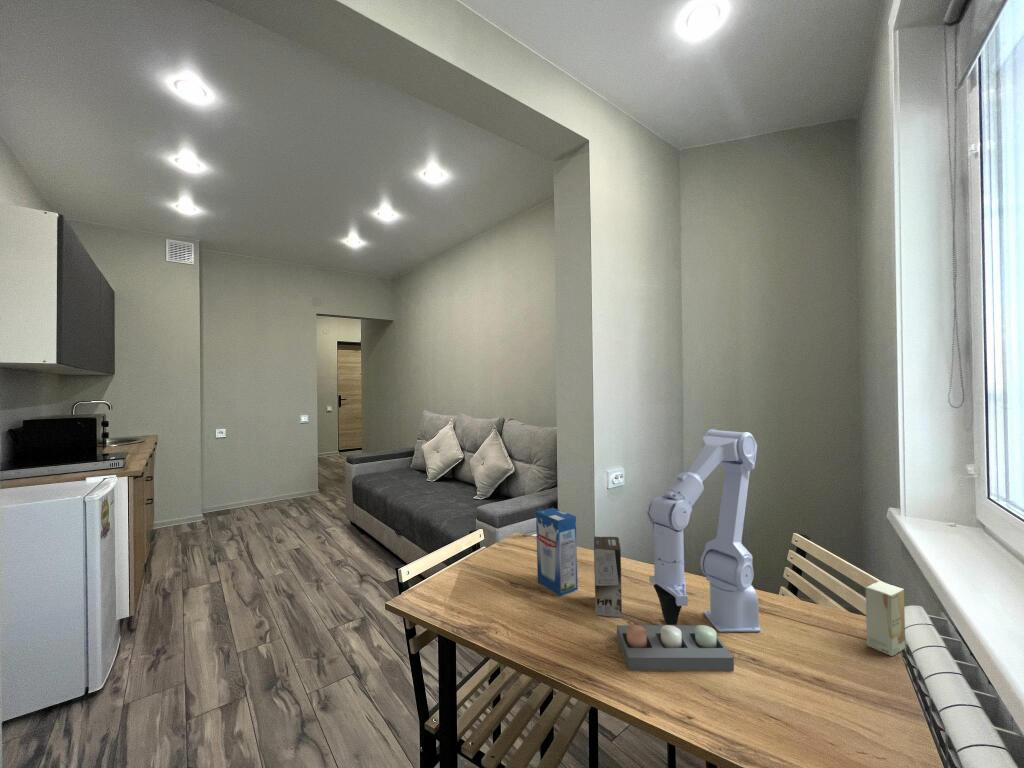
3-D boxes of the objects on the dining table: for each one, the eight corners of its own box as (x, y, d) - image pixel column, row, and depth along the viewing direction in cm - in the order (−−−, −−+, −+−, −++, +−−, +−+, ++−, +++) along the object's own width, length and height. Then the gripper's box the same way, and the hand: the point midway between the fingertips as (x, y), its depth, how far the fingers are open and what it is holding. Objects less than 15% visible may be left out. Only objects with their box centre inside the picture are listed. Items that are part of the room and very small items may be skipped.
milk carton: (577, 590, 114) (576, 516, 114) (560, 596, 110) (558, 520, 110) (554, 576, 122) (553, 507, 122) (537, 582, 119) (535, 511, 119)
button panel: (709, 636, 92) (709, 625, 92) (734, 670, 81) (733, 657, 81) (616, 636, 92) (616, 625, 92) (628, 670, 81) (628, 657, 81)
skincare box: (892, 657, 83) (890, 596, 83) (865, 646, 87) (864, 587, 87) (907, 647, 86) (905, 588, 86) (880, 636, 90) (879, 579, 90)
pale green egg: (711, 639, 88) (711, 625, 88) (720, 651, 84) (719, 636, 84) (692, 639, 88) (691, 625, 88) (699, 651, 84) (699, 636, 84)
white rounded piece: (677, 639, 88) (677, 625, 88) (684, 651, 84) (684, 636, 84) (658, 639, 89) (658, 625, 89) (664, 651, 85) (664, 636, 85)
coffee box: (622, 618, 100) (621, 550, 100) (595, 615, 101) (593, 548, 101) (620, 598, 109) (619, 536, 109) (595, 596, 110) (593, 535, 110)
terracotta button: (644, 639, 89) (643, 625, 89) (649, 651, 85) (649, 636, 85) (625, 639, 89) (624, 625, 89) (629, 651, 85) (629, 636, 85)
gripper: (640, 543, 94) (641, 604, 94) (660, 572, 79) (662, 644, 79) (672, 543, 94) (673, 604, 94) (698, 572, 79) (700, 644, 79)
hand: (670, 623), depth 86 cm, fingers closed
